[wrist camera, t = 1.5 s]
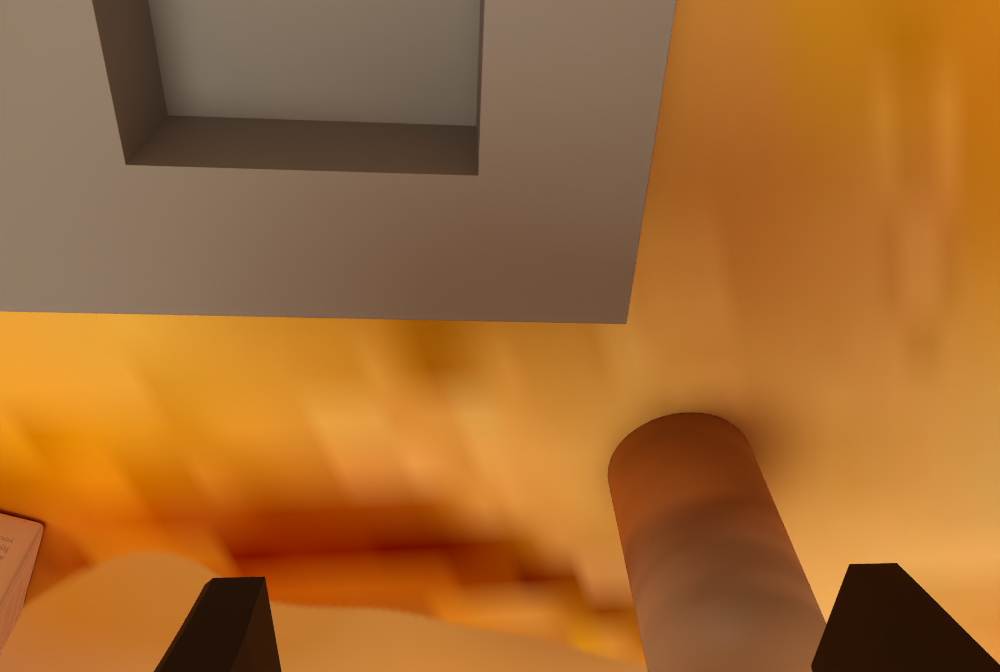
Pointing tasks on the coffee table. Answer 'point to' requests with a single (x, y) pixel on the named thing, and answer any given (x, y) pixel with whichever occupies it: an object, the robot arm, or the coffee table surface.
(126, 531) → the coffee table surface
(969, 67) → the coffee table surface
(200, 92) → the socket stand
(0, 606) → the skincare box
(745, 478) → the walnut peg
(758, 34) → the coffee table surface
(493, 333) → the coffee table surface
